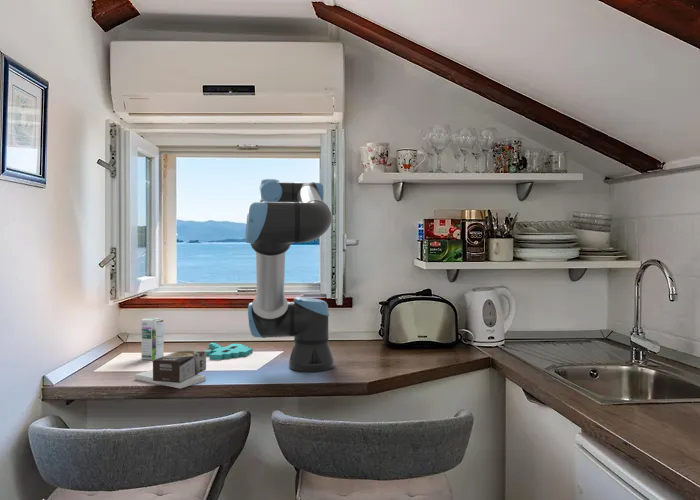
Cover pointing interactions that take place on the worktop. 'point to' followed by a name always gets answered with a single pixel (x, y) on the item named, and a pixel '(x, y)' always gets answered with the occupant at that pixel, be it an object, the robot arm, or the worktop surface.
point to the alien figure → (227, 351)
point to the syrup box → (152, 338)
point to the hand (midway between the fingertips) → (270, 285)
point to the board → (192, 380)
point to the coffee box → (179, 366)
